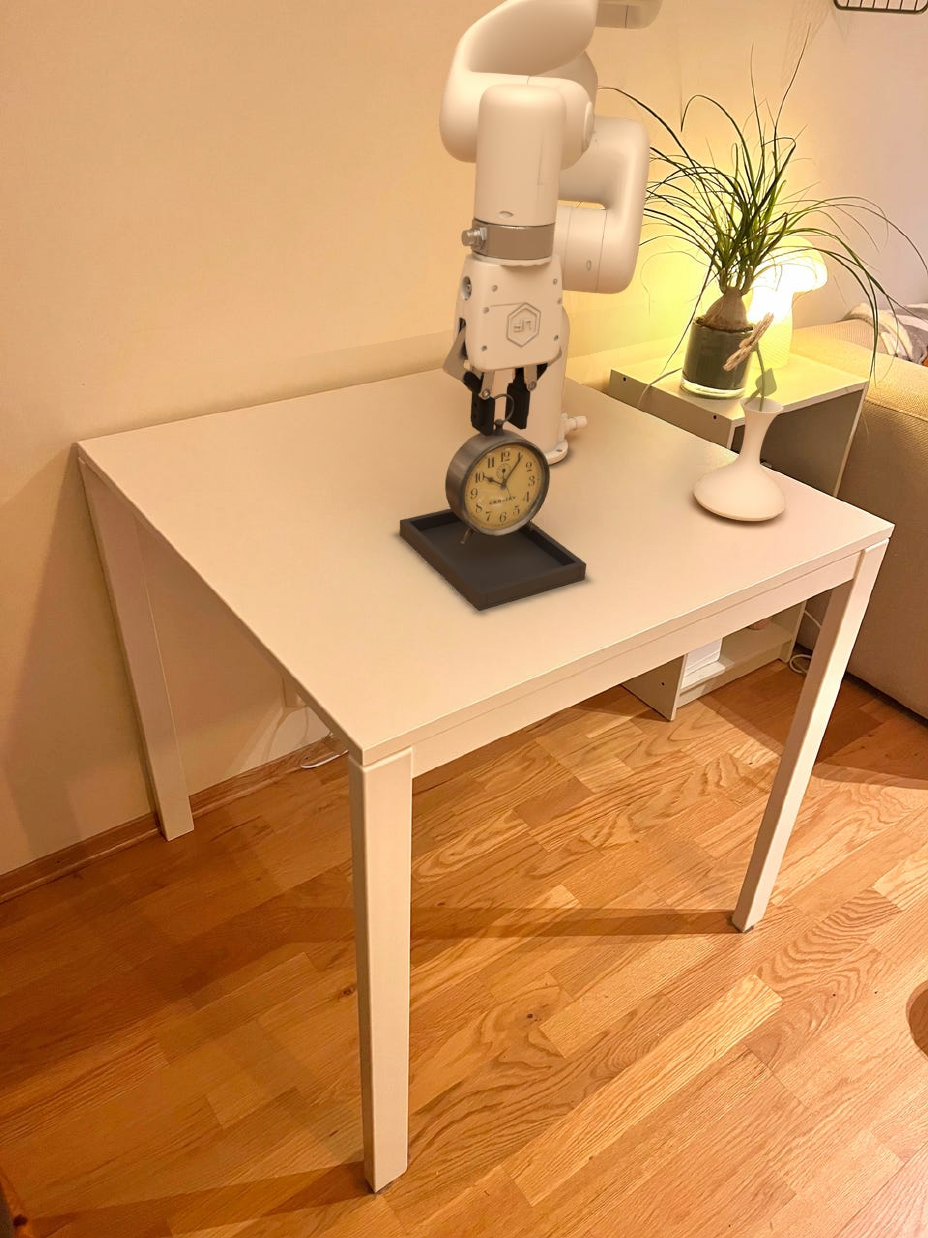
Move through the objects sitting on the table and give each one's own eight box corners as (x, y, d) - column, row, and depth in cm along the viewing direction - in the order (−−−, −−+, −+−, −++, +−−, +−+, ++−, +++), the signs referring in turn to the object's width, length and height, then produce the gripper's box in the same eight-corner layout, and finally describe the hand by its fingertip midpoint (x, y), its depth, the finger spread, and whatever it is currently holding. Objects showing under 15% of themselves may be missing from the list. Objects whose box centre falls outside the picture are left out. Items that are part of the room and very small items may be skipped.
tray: (497, 511, 112) (499, 496, 111) (584, 579, 100) (586, 563, 99) (399, 535, 106) (399, 519, 105) (479, 610, 94) (480, 594, 93)
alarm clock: (458, 555, 97) (466, 409, 88) (436, 532, 101) (442, 390, 92) (546, 536, 102) (562, 395, 93) (521, 514, 106) (534, 378, 96)
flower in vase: (722, 480, 123) (766, 288, 108) (799, 511, 116) (856, 311, 102) (665, 509, 115) (705, 307, 101) (745, 544, 108) (798, 333, 94)
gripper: (456, 256, 78) (447, 456, 88) (608, 242, 85) (584, 428, 95) (414, 237, 83) (411, 428, 93) (561, 225, 90) (543, 403, 101)
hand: (499, 426), depth 94 cm, fingers closed on alarm clock, 3 cm apart
